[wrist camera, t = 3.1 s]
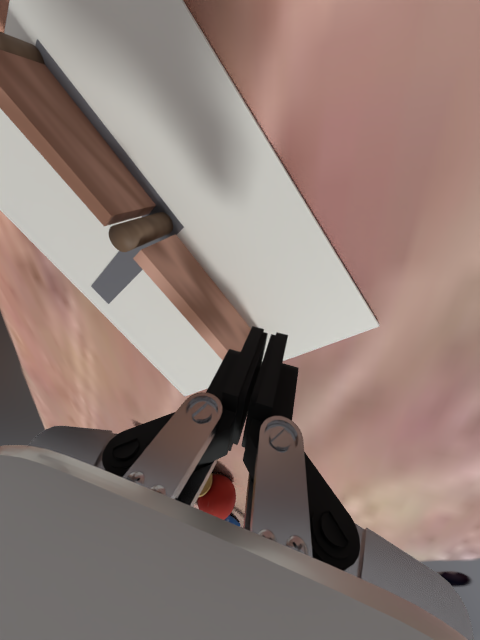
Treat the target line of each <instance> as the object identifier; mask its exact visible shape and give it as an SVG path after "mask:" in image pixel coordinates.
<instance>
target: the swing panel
mask: <svg viewBox="0 0 480 640" xmlns="http://www.w3.org/2000/svg"><path fill="white" fill-rule="evenodd" d="M133 259H134V260H135V261H136V262H137V264H138V265H139V266H140V267H141V268H142V269H143V270H144V272H145V273H146V274H147V275H148V276H149V277H150V278H151V280H152V281H153V282H154V283H155V284H156V285H157V286H158V288H159V289H160V290H161V291H162V292H163V293H164V294H165V296H166V297H167V298H168V299H169V300H170V301H171V302H172V303H173V305H174V306H175V307H176V308H177V309H178V310H179V311H180V313H181V314H182V315H183V316H184V317H185V318H186V319H187V321H188V322H189V323H190V324H191V325H192V326H193V327H194V329H195V330H196V331H197V332H198V333H199V334H200V335H201V337H202V338H203V339H204V340H205V341H206V342H207V343H208V345H209V346H210V347H211V348H212V349H213V350H214V351H215V353H216V354H217V355H218V356H219V357H220V358H221V359H222V361H223V359H224V357H225V355H226V353H227V352H228V350H229V349H232V350H236V351H239V352H241V350H242V348H243V346H244V343H245V341H246V339H247V337H248V335H249V332H250V330H251V328H250V327H249V326H248V324H247V323H246V322H245V321H244V319H243V318H242V317H241V316H240V314H239V313H238V312H237V311H236V309H235V308H234V307H233V306H232V304H231V303H230V302H229V300H228V299H227V298H226V297H225V295H224V294H223V293H222V292H221V290H220V289H219V288H218V287H217V285H216V284H215V283H214V282H213V280H212V279H211V278H210V277H209V275H208V274H207V273H206V272H205V270H204V269H203V268H202V267H201V265H200V264H199V263H198V262H197V260H196V259H195V258H194V256H193V255H192V254H191V253H190V251H189V250H188V249H187V248H186V246H185V245H184V244H183V243H182V241H181V240H180V239H179V238H178V236H177V235H176V234H175V235H173V236H170V237H168V238H166V239H164V240H162V241H159V242H157V243H155V244H153V245H150V246H148V247H146V248H144V249H141V250H140V251H139V252H138V254H137V255H136V256H135V257H134V258H133Z"/></svg>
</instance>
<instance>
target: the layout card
mask: <svg viewBox="0 0 480 640" xmlns="http://www.w3.org/2000/svg"><path fill="white" fill-rule="evenodd" d="M4 33H5V34H7V35H10V36H12V37H15V38H18V39H20V40H23V41H25V42H28V43H30V44H33V45H34V46H35V47H36V48H37V49H38V50H39V51H40V53H41V55H42V57H43V60H44V63H45V65H46V67H47V68H48V69H49V70H50V72H51V73H52V74H53V75H54V77H55V78H56V79H57V81H58V82H59V83H60V84H61V86H62V87H63V88H64V89H65V91H66V92H67V93H68V94H69V96H70V97H71V98H72V99H73V101H74V102H75V103H76V105H77V106H78V107H79V108H80V110H81V111H82V112H83V113H84V115H85V116H86V117H87V118H88V120H89V121H90V122H91V123H92V125H93V126H94V127H95V129H96V130H97V131H98V132H99V134H100V135H101V136H102V137H103V139H104V140H105V141H106V142H107V144H108V145H109V146H110V148H111V149H112V150H113V151H114V153H115V154H116V155H117V156H118V158H119V159H120V160H121V161H122V163H123V164H124V165H125V166H126V168H127V169H128V170H129V172H130V173H131V174H132V175H133V177H134V178H135V179H136V180H137V182H138V183H139V184H140V185H141V187H142V188H143V189H144V190H145V192H146V193H147V194H148V196H149V197H150V198H151V199H152V201H153V202H154V203H155V204H156V206H155V207H154V208H153V210H152V211H151V212H150V213H149V214H147V215H144V216H140V217H136V218H133V219H129V220H126V221H122V222H118V223H115V224H111V225H107V226H103V225H102V223H101V222H100V221H99V220H98V219H97V218H96V217H95V215H94V214H93V213H92V212H91V211H90V210H89V209H88V207H87V206H86V205H85V204H84V203H83V202H82V201H81V200H80V198H79V197H78V196H77V195H76V194H75V193H74V192H73V190H72V189H71V188H70V187H69V186H68V185H67V184H66V182H65V181H64V180H63V179H62V178H61V177H60V176H59V174H58V173H57V172H56V171H55V170H54V169H53V168H52V166H51V165H50V164H49V163H48V162H47V161H46V160H45V159H44V157H43V156H42V155H41V154H40V153H39V152H38V151H37V149H36V148H35V147H34V146H33V145H32V144H31V143H30V141H29V140H28V139H27V138H26V137H25V136H24V135H23V133H22V132H21V131H20V130H19V129H18V128H17V127H16V125H15V124H14V123H13V122H12V121H11V120H10V119H9V117H8V116H7V115H6V114H5V113H4V112H3V111H2V110H1V108H0V210H1V211H2V212H3V213H4V214H5V215H6V216H7V217H8V218H9V219H10V220H11V221H12V222H13V223H14V224H15V225H16V226H17V227H18V228H19V229H20V230H21V232H22V233H23V234H24V235H25V236H26V237H27V238H28V239H29V240H30V241H31V242H32V243H33V244H34V245H35V246H36V247H37V248H38V249H39V250H40V251H41V252H42V253H43V254H44V255H45V256H46V257H47V258H48V259H49V260H50V261H51V262H52V263H53V264H54V265H55V266H56V267H57V268H58V269H59V270H60V271H61V272H62V273H63V274H64V275H65V276H66V277H67V278H68V279H69V280H70V281H71V282H72V283H73V284H74V285H75V286H76V287H77V288H78V289H79V290H80V291H81V292H82V293H83V294H84V295H85V296H86V297H87V298H88V299H89V300H90V301H91V302H92V303H93V304H94V305H95V306H96V307H97V308H98V309H99V310H100V311H101V312H102V313H103V314H104V315H105V316H106V318H107V319H108V320H109V321H110V322H111V323H112V324H113V325H114V326H115V327H116V328H117V329H118V330H119V331H120V332H121V333H122V334H123V335H124V336H125V337H126V338H127V339H128V340H129V341H130V342H131V343H132V344H133V345H134V346H135V347H136V348H137V349H138V350H139V351H140V352H141V353H142V354H143V355H144V356H145V357H146V358H147V359H148V360H149V361H150V362H151V363H152V364H153V365H154V366H155V367H156V368H157V369H158V370H159V371H160V372H161V373H162V374H163V375H164V376H165V377H166V378H167V379H168V380H169V381H170V382H171V383H172V384H173V385H174V386H175V387H176V388H177V389H178V390H179V391H180V392H181V393H182V394H183V395H184V396H187V395H190V394H193V393H196V392H199V391H201V390H204V389H207V388H209V386H210V384H211V382H212V380H213V378H214V376H215V374H216V372H217V371H218V369H219V367H220V365H221V363H222V359H221V358H220V357H219V356H218V355H217V354H216V353H215V351H214V350H213V349H212V348H211V347H210V346H209V345H208V343H207V342H206V341H205V340H204V339H203V338H202V337H201V335H200V334H199V333H198V332H197V331H196V330H195V329H194V327H193V326H192V325H191V324H190V323H189V322H188V321H187V319H186V318H185V317H184V316H183V315H182V314H181V313H180V311H179V310H178V309H177V308H176V307H175V306H174V305H173V303H172V302H171V301H170V300H169V299H168V298H167V297H166V296H165V294H164V293H163V292H162V291H161V290H160V289H159V288H158V286H157V285H156V284H155V283H154V282H153V281H152V280H151V278H150V277H149V276H148V275H147V274H146V273H145V272H144V270H143V269H142V268H141V267H140V266H139V265H138V264H137V262H136V261H135V260H134V259H133V258H134V257H135V256H136V255H137V254H138V252H139V251H140V250H141V249H144V248H146V247H148V246H150V245H153V244H155V243H157V242H159V241H162V240H164V239H166V238H168V237H170V236H173V235H175V234H176V235H177V236H178V238H179V239H180V240H181V241H182V243H183V244H184V245H185V246H186V248H187V249H188V250H189V251H190V253H191V254H192V255H193V256H194V258H195V259H196V260H197V262H198V263H199V264H200V265H201V267H202V268H203V269H204V270H205V272H206V273H207V274H208V275H209V277H210V278H211V279H212V280H213V282H214V283H215V284H216V285H217V287H218V288H219V289H220V290H221V292H222V293H223V294H224V295H225V297H226V298H227V299H228V300H229V302H230V303H231V304H232V306H233V307H234V308H235V309H236V311H237V312H238V313H239V314H240V316H241V317H242V318H243V319H244V321H245V322H246V323H247V324H248V326H249V327H250V328H252V326H254V327H258V328H262V329H264V332H265V333H268V335H267V340H266V345H265V350H264V355H265V352H266V349H267V346H268V342H269V339H270V336H271V334H273V335H276V332H278V333H282V334H286V335H288V339H287V343H286V348H285V352H284V357H283V361H285V360H287V359H290V358H293V357H296V356H298V355H301V354H304V353H307V352H309V351H312V350H315V349H318V348H321V347H323V346H326V345H329V344H332V343H334V342H337V341H340V340H343V339H346V338H348V337H351V336H354V335H357V334H359V333H362V332H365V331H368V330H371V329H373V328H376V327H379V323H378V321H377V319H376V318H375V316H374V314H373V313H372V311H371V309H370V308H369V306H368V305H367V303H366V301H365V300H364V298H363V296H362V295H361V293H360V291H359V290H358V288H357V286H356V285H355V283H354V281H353V280H352V278H351V276H350V275H349V273H348V271H347V270H346V268H345V267H344V265H343V263H342V262H341V260H340V258H339V257H338V255H337V253H336V252H335V250H334V248H333V247H332V245H331V243H330V242H329V240H328V238H327V237H326V235H325V234H324V232H323V230H322V229H321V227H320V225H319V224H318V222H317V220H316V219H315V217H314V215H313V214H312V212H311V210H310V209H309V207H308V205H307V204H306V202H305V200H304V199H303V197H302V196H301V194H300V192H299V191H298V189H297V187H296V186H295V184H294V182H293V181H292V179H291V177H290V176H289V174H288V172H287V171H286V169H285V167H284V166H283V164H282V163H281V161H280V159H279V158H278V156H277V154H276V153H275V151H274V149H273V148H272V146H271V144H270V143H269V141H268V139H267V138H266V136H265V134H264V133H263V131H262V130H261V128H260V126H259V125H258V123H257V121H256V120H255V118H254V116H253V115H252V113H251V111H250V110H249V108H248V106H247V105H246V103H245V101H244V100H243V98H242V96H241V95H240V93H239V92H238V90H237V88H236V87H235V85H234V83H233V82H232V80H231V78H230V77H229V75H228V73H227V72H226V70H225V68H224V67H223V65H222V63H221V62H220V60H219V59H218V57H217V55H216V54H215V52H214V50H213V49H212V47H211V45H210V44H209V42H208V40H207V39H206V37H205V35H204V34H203V32H202V30H201V29H200V27H199V26H198V24H197V22H196V21H195V19H194V17H193V16H192V14H191V12H190V11H189V9H188V7H187V6H186V4H185V2H184V1H183V0H10V1H9V7H8V13H7V19H6V25H5V31H4ZM159 212H164V213H166V214H167V215H168V216H169V217H170V218H171V220H172V222H173V230H172V232H171V233H170V234H167V235H165V236H163V237H160V238H158V239H156V240H153V241H151V242H149V243H147V244H144V245H142V246H140V247H137V248H135V249H133V250H130V251H128V252H121V251H119V250H117V249H116V248H115V247H114V246H113V244H112V243H111V241H110V239H109V229H110V227H111V226H113V225H116V224H120V223H123V222H127V221H130V220H134V219H137V218H141V217H145V216H148V215H152V214H155V213H159ZM264 355H263V358H264ZM262 361H263V359H262Z"/></svg>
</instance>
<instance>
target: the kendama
mask: <svg viewBox="0 0 480 640" xmlns="http://www.w3.org/2000/svg"><path fill="white" fill-rule="evenodd" d="M212 474H214V475H212ZM235 500H236V493H235V488H234V485H233V484H232V482H231V481H230V480H229V479H228V478H227V477H225V476H223V475H221V474H216V473H211V474H210V476H209V478H208V480H207V482H206V484H205V486H204V488H203V489H202V491H201V493H200V495H199V497H198V499H197V502H198V507H199V510H201V511H204V512H206V513H208V514H211V515H213V516H215V517H218V518H220V519H223V520H224V519H226V518H227V517H228V516H229V515H230V513H231V512H232V510H233V508H234V505H235Z"/></svg>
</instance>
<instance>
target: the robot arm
mask: <svg viewBox="0 0 480 640" xmlns="http://www.w3.org/2000/svg"><path fill="white" fill-rule="evenodd" d="M267 335H268V333H265V332H264V329H262V328H258V327H254V326H252V328H251V330H250V332H249V335H248V337H247V339H246V341H245V343H244V346H243V348H242V350H241V352H239V351H236V350H232V349H229V350H228V352H227V353H226V355H225V357H224V359H223V361H222V363H221V365H220V367H219V369H218V371H217V372H216V374H215V376H214V378H213V380H212V382H211V384H210V386H209V388H208V390H207V391H206V393H203V392H201V393H196V394H194V395H192V396H190V397H189V398H187V399H186V400H185V401H184V403H183V404H182V405H181V406H180V407H179V409H178V410H177V411H176V412H174V413H171V414H169V415H166V416H163V417H161V418H158V419H155V420H152V421H150V422H147V423H144V424H142V425H139V426H136V427H134V428H131V429H128V430H125V431H123V432H121V433H119V434H114V433H112V431H110V430H100V429H90V428H79V427H69V426H54V427H51V428H49V429H46V430H44V431H43V432H41V433H40V434H38V435H37V436H36V437H35V438H34V439H33V440H32V441H31V442H30V444H29V445H28V446H24V445H5V446H0V640H474V637H473V630H472V625H471V621H470V618H469V614H468V611H467V609H466V607H465V605H464V603H463V602H462V600H461V598H460V596H459V595H458V593H457V592H456V591H455V590H454V588H453V587H452V586H451V585H450V583H449V582H447V581H446V580H445V579H444V578H443V577H442V576H440V575H439V574H438V573H436V572H435V571H433V570H432V569H430V568H429V567H427V566H425V565H424V564H422V563H421V562H419V561H418V560H416V559H415V558H413V557H412V556H410V555H408V554H407V553H405V552H404V551H402V550H401V549H399V548H398V547H396V546H394V545H393V544H391V543H390V542H388V541H387V540H385V539H384V538H382V537H381V536H379V535H377V534H376V533H374V532H373V531H371V530H370V529H368V528H366V529H365V530H364V529H363V528H361V527H360V526H358V525H357V524H355V523H354V522H353V520H352V518H351V516H350V515H349V513H348V512H347V511H346V509H345V508H344V506H343V505H342V504H341V502H340V501H339V499H338V498H337V497H336V495H335V494H334V493H333V491H332V490H331V488H330V487H329V486H328V484H327V483H326V481H325V480H324V479H323V477H322V476H321V474H320V473H319V472H318V470H317V469H316V467H315V466H314V465H313V463H312V462H311V460H310V459H309V458H308V456H307V455H306V453H305V452H304V443H303V437H302V433H301V431H300V429H299V427H298V426H297V425H296V424H295V423H294V422H293V421H292V415H293V407H294V399H295V392H296V384H297V376H298V368H297V367H294V366H290V365H286V364H283V363H282V362H283V357H284V352H285V348H286V343H287V339H288V335H286V334H282V333H278V332H276V335H273V334H271V336H270V339H269V342H268V346H267V349H266V352H265V355H264V350H265V345H266V340H267ZM263 355H264V358H263ZM262 359H263V361H262ZM246 417H247V419H246ZM245 420H246V425H245V430H244V436H243V441H242V447H245V452H244V457H243V462H244V464H245V466H246V468H247V470H248V472H249V477H248V487H247V496H246V506H245V516H244V526H243V528H242V527H239V526H237V525H235V524H232V523H230V522H227V521H225V520H223V519H220V518H218V517H215V516H213V515H211V514H208V513H206V512H204V511H201V510H199V509H196V508H194V507H193V506H194V504H195V503H196V501H197V499H198V497H199V495H200V493H201V491H202V489H203V488H204V486H205V484H206V482H207V480H208V478H209V476H210V474H211V473H212V471H213V469H214V467H215V465H216V463H217V460H218V459H219V458H221V457H223V456H225V455H227V453H228V450H229V451H231V448H232V445H233V443H234V444H236V445H238V442H239V439H240V436H241V433H242V430H243V426H244V423H245Z"/></svg>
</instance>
